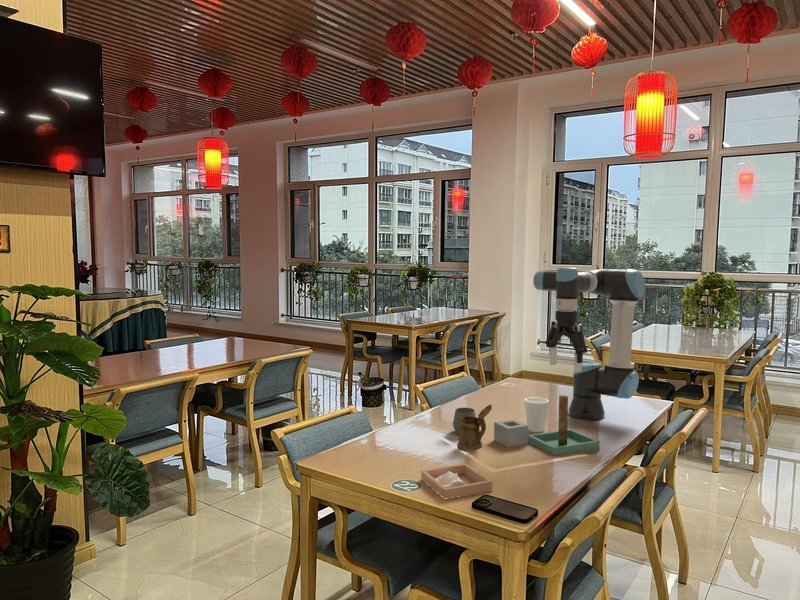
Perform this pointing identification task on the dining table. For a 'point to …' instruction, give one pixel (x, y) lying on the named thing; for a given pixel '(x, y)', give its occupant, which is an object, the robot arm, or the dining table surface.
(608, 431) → the dining table surface
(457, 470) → the pink square tray
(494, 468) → the dining table surface
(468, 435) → the wooden mug
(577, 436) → the tray
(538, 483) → the dining table surface
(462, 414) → the cup
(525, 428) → the grey hollow square block
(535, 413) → the foam cup
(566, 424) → the dowel
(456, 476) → the white seashell
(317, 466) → the dining table surface
